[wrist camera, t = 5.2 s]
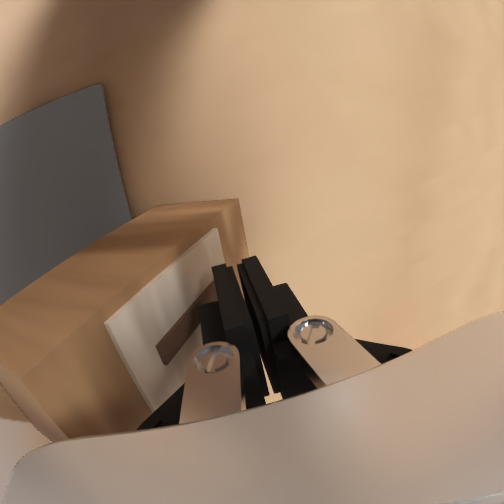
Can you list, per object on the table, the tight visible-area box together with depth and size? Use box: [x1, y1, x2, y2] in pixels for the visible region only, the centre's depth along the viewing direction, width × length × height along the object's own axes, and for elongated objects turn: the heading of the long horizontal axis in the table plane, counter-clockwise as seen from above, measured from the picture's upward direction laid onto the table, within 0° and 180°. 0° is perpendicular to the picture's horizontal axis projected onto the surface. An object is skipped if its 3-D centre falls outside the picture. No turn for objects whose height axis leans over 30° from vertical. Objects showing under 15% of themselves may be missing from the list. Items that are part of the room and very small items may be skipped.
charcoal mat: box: [0, 83, 133, 306], centre depth 16 cm, size 20×14×1 cm
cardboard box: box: [0, 199, 249, 442], centre depth 12 cm, size 5×5×12 cm
